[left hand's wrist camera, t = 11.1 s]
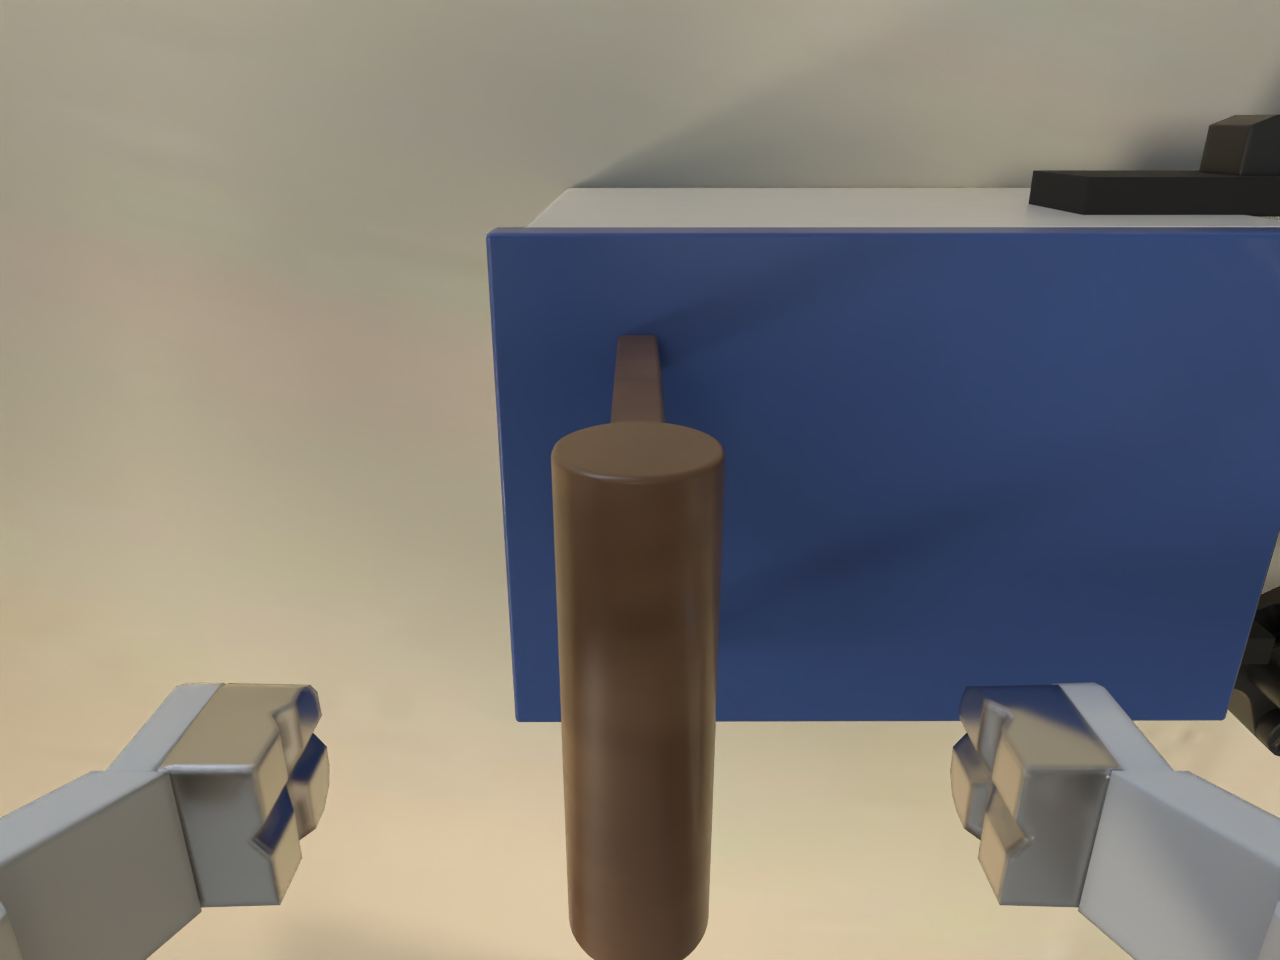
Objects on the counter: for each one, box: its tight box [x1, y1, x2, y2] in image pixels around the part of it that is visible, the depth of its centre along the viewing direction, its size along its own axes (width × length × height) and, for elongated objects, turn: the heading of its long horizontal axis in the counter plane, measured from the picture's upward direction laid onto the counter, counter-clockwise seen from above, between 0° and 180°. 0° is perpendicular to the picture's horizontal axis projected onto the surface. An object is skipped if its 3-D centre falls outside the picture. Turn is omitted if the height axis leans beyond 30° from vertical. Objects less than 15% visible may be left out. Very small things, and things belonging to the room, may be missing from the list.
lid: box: [486, 227, 1280, 960], centre depth 14 cm, size 15×10×8 cm, turn 90°
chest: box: [526, 188, 1280, 227], centre depth 23 cm, size 14×10×11 cm
